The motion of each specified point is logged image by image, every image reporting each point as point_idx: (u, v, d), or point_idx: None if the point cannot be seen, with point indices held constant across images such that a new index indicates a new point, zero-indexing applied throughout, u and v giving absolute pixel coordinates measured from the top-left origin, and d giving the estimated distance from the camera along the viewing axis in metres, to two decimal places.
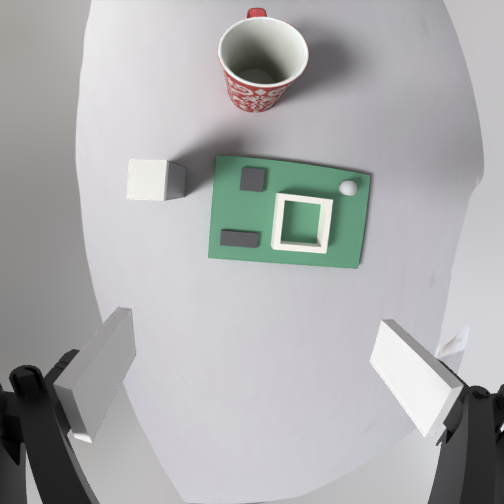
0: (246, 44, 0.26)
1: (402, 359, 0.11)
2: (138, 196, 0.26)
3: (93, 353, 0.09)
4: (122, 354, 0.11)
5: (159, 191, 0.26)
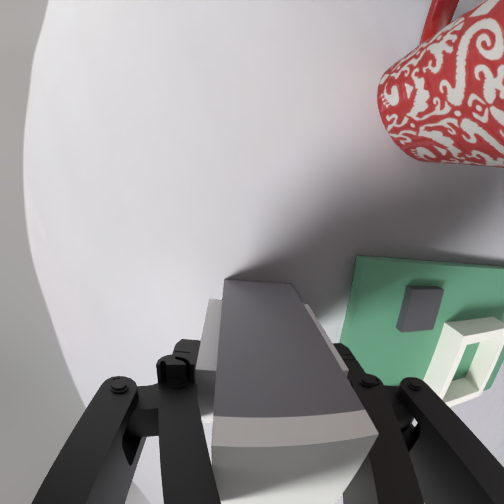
0: None
1: None
2: None
3: (216, 339, 0.11)
4: None
5: (328, 494, 0.06)
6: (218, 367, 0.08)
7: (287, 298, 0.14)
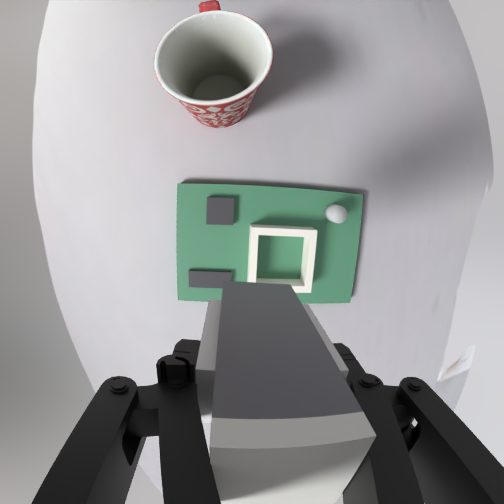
0: (199, 47, 0.21)
1: None
2: None
3: (216, 339, 0.11)
4: None
5: (326, 495, 0.06)
6: (217, 369, 0.08)
7: (286, 299, 0.14)
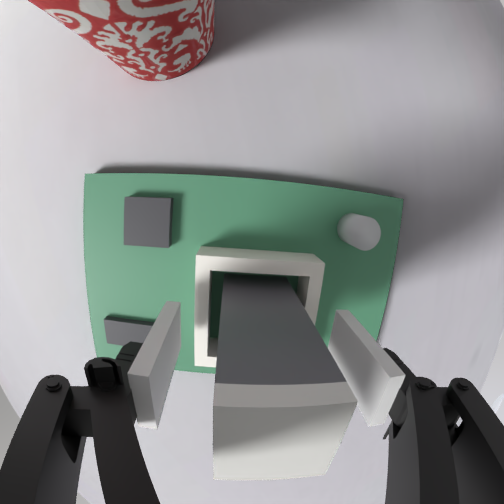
0: None
1: (350, 347, 0.13)
2: (251, 476, 0.07)
3: (158, 343, 0.10)
4: (174, 345, 0.13)
5: (317, 464, 0.07)
6: (219, 345, 0.10)
7: (281, 290, 0.16)
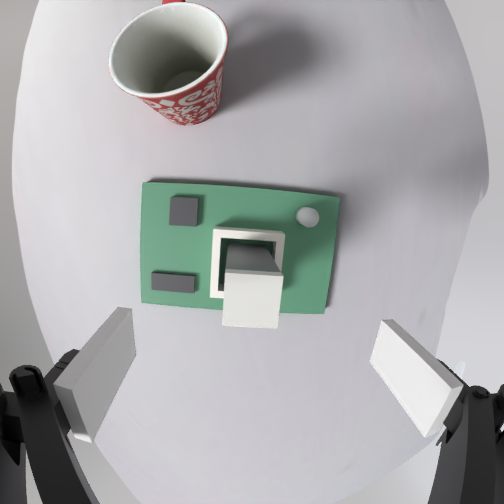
0: (163, 42, 0.19)
1: (402, 359, 0.11)
2: (240, 323, 0.20)
3: (93, 353, 0.09)
4: (122, 354, 0.11)
5: (271, 317, 0.20)
6: (226, 261, 0.22)
7: (260, 249, 0.29)
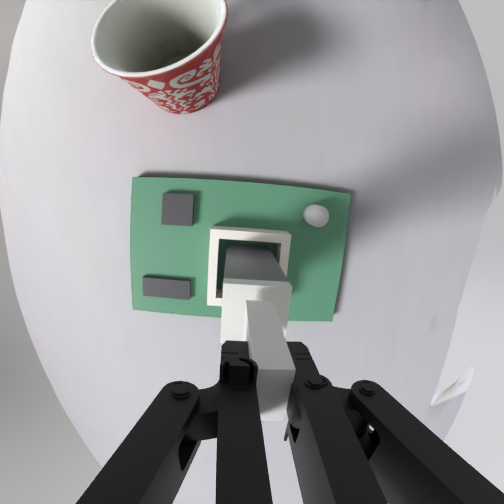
0: (154, 21, 0.16)
1: None
2: None
3: (264, 339, 0.11)
4: None
5: None
6: (225, 268, 0.19)
7: (263, 251, 0.26)
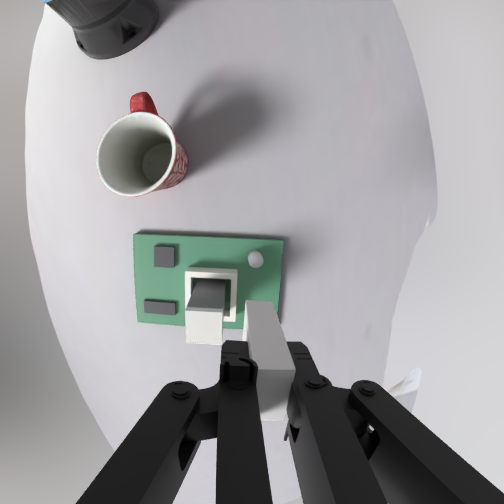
0: (135, 134, 0.30)
1: None
2: (197, 341, 0.30)
3: (264, 339, 0.11)
4: None
5: (217, 337, 0.30)
6: (189, 299, 0.33)
7: (219, 284, 0.39)
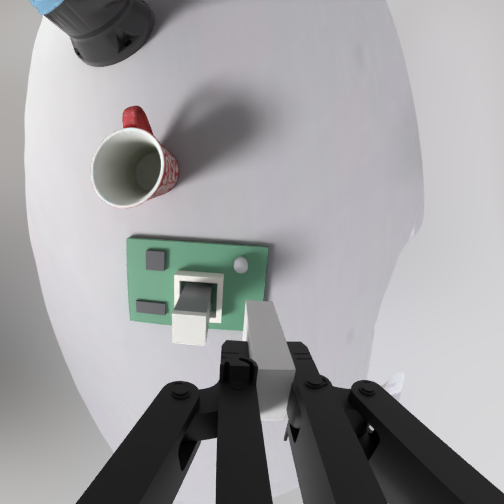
0: (128, 145, 0.31)
1: None
2: (183, 341, 0.32)
3: (264, 339, 0.11)
4: None
5: (201, 339, 0.33)
6: (177, 303, 0.35)
7: (206, 288, 0.41)
